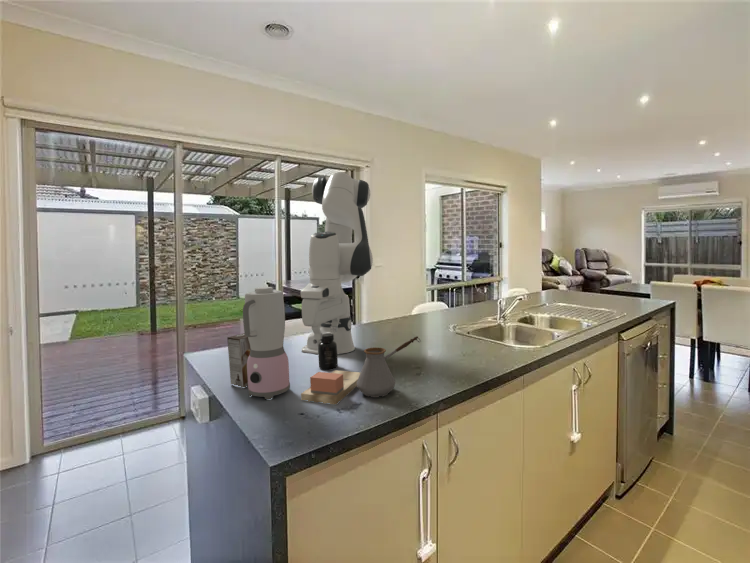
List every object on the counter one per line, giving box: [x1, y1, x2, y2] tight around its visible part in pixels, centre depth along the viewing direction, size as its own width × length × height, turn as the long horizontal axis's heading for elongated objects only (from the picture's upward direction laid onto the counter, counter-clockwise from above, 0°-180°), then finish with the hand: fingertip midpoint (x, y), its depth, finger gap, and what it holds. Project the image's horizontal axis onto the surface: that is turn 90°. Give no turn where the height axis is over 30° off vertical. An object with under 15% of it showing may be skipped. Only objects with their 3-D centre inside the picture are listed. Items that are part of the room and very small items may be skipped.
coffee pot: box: [356, 336, 422, 398], centre depth 119 cm, size 21×12×15 cm, turn 117°
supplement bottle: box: [317, 334, 339, 371], centre depth 143 cm, size 7×7×12 cm
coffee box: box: [227, 332, 251, 387], centre depth 128 cm, size 9×6×16 cm
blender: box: [242, 286, 291, 400], centre depth 117 cm, size 16×12×32 cm
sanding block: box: [309, 371, 344, 395], centre depth 114 cm, size 8×5×4 cm, turn 70°
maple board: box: [300, 369, 361, 405], centre depth 122 cm, size 11×22×2 cm, turn 160°
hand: (326, 335), depth 116 cm, fingers open, 8 cm apart
